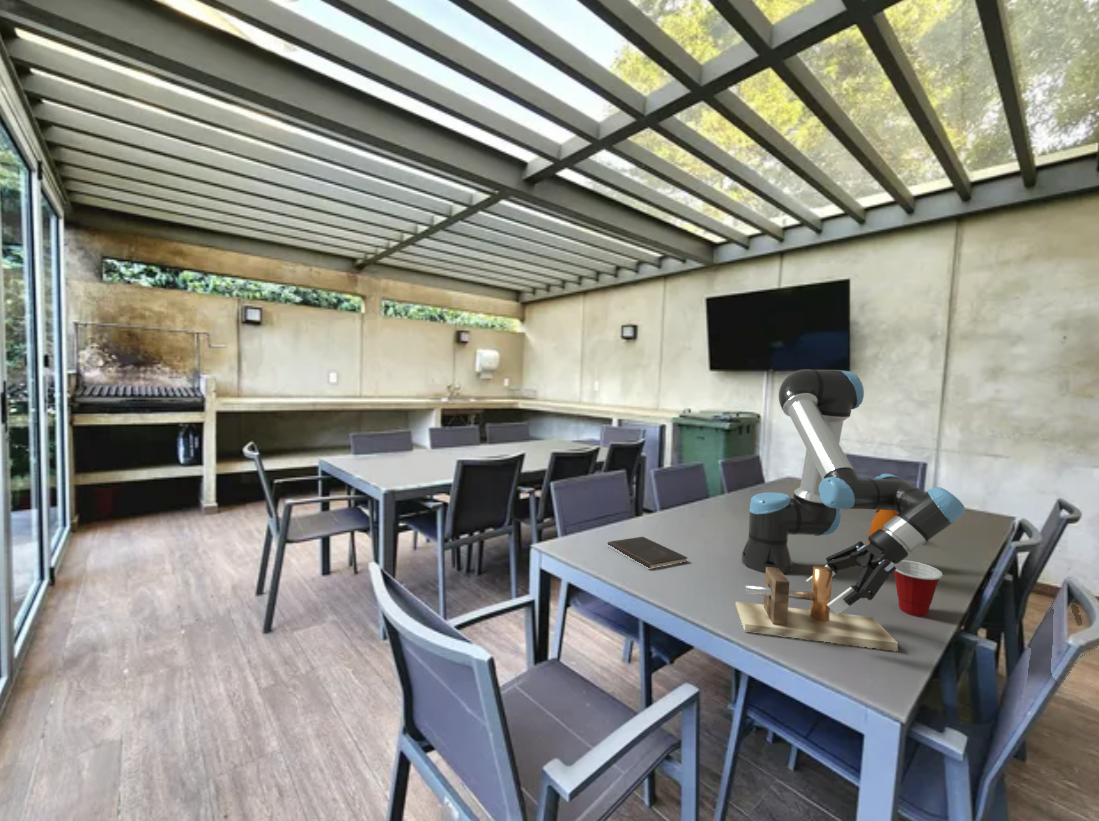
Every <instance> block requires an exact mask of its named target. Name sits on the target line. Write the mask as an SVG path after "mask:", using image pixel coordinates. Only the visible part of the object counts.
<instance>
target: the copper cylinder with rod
mask: <svg viewBox="0 0 1099 821" xmlns="http://www.w3.org/2000/svg"><path fill="white" fill-rule="evenodd" d="M825 566H826V565H825ZM825 566H824V565H818V564H817V565H813V566H812V575H813V578H812V586H811V591H807V590H798V589H797V590H796V589H790V588H789V599H792V600H794V599H795V600H804V601H809V602H810V609H809V610H810V616H811V617H812V618H813V619H815V620H818V621H822V622H827V621H829V616H830V612H831V609H830V608H829V606H828V605H827V604H828V603H830V602H831V601H832V600H831V598H832V597H831V596H832V584H833V583H832V582H833V576H832V571H833V570H832V569H830V568H828V567H825ZM771 590H772V588H771V587H765V586H763V585H762V586H761V585H751V584H745V585H744V591H745V592H744V593H745V594H747V595H748V594H750V595H757V596H758V595H760V596H764V595H766V596H771Z"/></svg>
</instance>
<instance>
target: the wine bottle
mask: <svg viewBox="0 0 1099 821" xmlns="http://www.w3.org/2000/svg"><path fill="white" fill-rule="evenodd" d="M874 513H875V515H874V517H873V519H872V521H871V523H870V527H869V532H868V537H869V536H870V535H872V534H873V533H874V532H876V531H877V530H878V529H882V530H883V527H882V526H883V525H884V524H886V523H887V522H888V521H890V520H891V519H892V518H894V517H895V516H896V515H898V514H899V513H897V512H896V511H893V510H875V511H874ZM869 544H870V541H869V540H868V545H869ZM890 562H891V561H890ZM891 563H892V562H891Z"/></svg>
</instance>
